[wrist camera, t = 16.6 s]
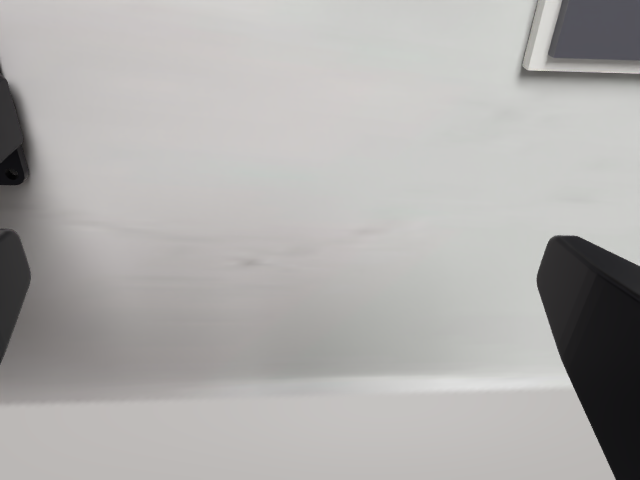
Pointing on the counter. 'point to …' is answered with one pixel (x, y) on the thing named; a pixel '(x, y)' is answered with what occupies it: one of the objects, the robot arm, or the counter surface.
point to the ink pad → (585, 36)
